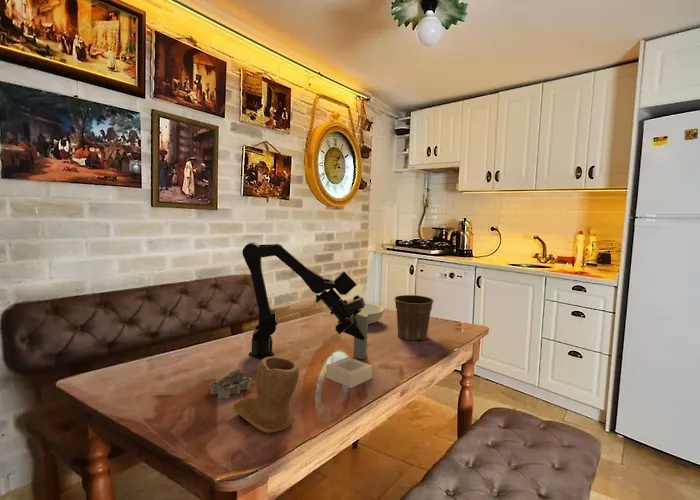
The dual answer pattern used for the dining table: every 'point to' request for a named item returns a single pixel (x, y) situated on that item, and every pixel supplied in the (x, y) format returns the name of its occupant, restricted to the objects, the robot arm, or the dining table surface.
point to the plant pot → (413, 316)
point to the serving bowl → (372, 312)
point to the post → (361, 345)
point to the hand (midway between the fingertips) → (364, 337)
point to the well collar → (349, 372)
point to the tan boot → (271, 395)
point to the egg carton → (231, 384)
